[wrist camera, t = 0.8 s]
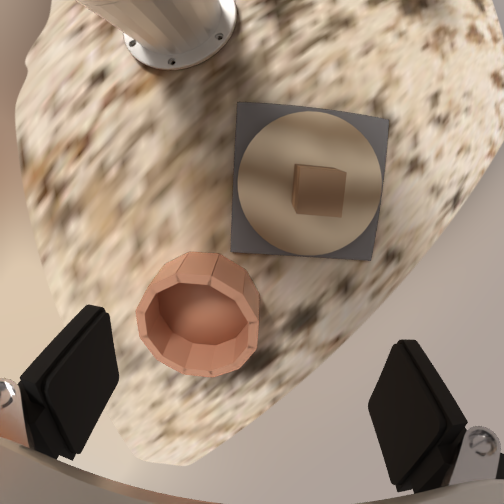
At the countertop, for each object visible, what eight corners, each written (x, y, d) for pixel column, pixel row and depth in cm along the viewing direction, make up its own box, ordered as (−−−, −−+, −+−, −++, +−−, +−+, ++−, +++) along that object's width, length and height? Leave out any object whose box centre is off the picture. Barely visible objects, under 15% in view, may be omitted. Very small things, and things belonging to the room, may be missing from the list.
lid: (242, 106, 29) (237, 98, 23) (384, 123, 29) (408, 120, 23) (235, 247, 34) (229, 269, 28) (367, 256, 34) (386, 278, 28)
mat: (237, 102, 29) (237, 102, 29) (386, 120, 29) (388, 119, 28) (230, 250, 35) (230, 251, 34) (369, 258, 34) (371, 260, 34)
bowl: (149, 249, 35) (130, 269, 29) (262, 256, 35) (262, 279, 29) (158, 340, 39) (145, 368, 34) (255, 349, 39) (254, 380, 34)
